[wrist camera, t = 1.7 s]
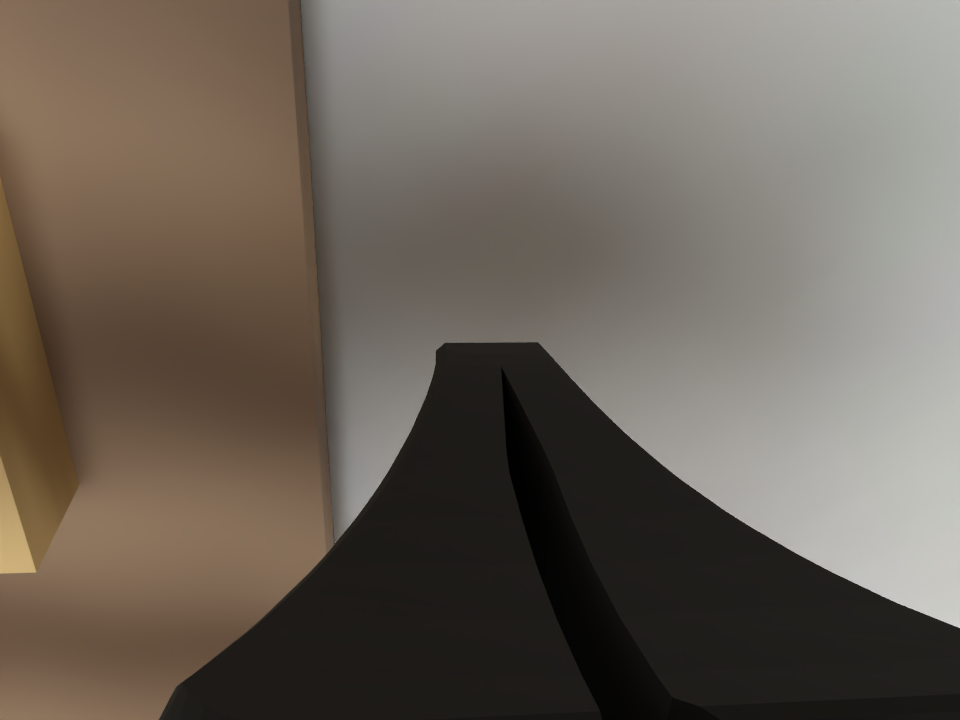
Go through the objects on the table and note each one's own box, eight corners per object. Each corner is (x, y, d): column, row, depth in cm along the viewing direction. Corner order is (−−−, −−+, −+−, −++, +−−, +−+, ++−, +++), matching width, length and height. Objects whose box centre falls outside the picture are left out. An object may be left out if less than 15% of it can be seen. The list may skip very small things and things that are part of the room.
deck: (344, 707, 20) (340, 766, 19) (-109, 728, 19) (-144, 792, 18) (273, -424, 10) (255, -464, 9) (-708, -499, 9) (-892, -555, 8)
